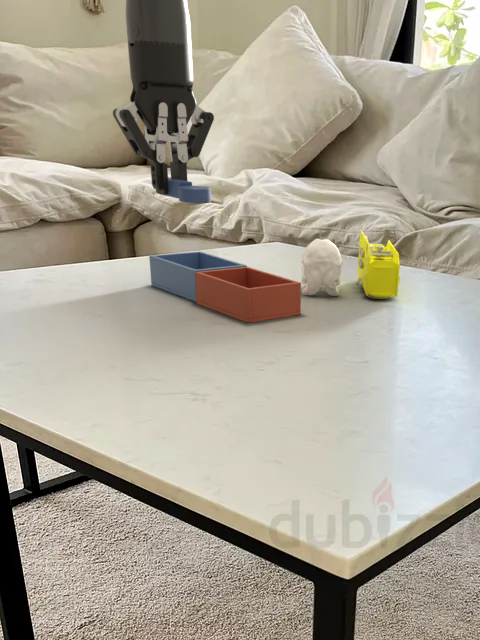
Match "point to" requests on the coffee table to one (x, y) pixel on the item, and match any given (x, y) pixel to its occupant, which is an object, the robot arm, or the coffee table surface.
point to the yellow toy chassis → (378, 269)
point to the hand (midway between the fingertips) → (170, 192)
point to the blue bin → (184, 271)
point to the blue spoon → (188, 191)
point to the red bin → (248, 294)
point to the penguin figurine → (321, 267)
